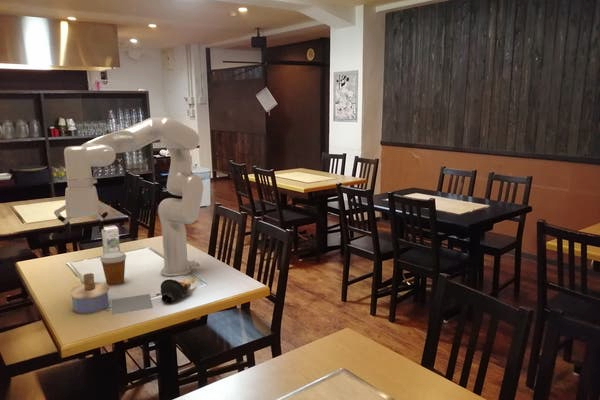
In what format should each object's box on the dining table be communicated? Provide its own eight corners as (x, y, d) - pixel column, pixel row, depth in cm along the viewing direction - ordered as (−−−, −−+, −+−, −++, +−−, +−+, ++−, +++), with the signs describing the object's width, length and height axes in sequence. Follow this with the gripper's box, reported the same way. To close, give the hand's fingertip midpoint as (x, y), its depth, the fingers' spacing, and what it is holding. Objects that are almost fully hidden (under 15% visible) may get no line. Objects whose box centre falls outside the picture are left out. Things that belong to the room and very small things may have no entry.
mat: (149, 295, 167) (149, 293, 167) (152, 309, 155) (152, 307, 155) (111, 301, 162) (111, 299, 162) (112, 315, 150) (111, 314, 150)
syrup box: (115, 254, 215) (113, 224, 212) (120, 257, 210) (118, 227, 208) (103, 257, 211) (100, 227, 208) (108, 260, 207) (105, 229, 204)
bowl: (108, 299, 163) (107, 283, 162) (108, 311, 153) (107, 295, 152) (75, 304, 159) (73, 288, 158) (72, 317, 149) (70, 300, 148)
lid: (109, 283, 163) (107, 267, 162) (109, 295, 152) (107, 278, 151) (71, 288, 158) (70, 271, 157) (69, 301, 147) (67, 283, 146)
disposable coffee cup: (109, 290, 172) (106, 260, 169) (98, 283, 178) (95, 254, 176) (132, 283, 179) (130, 254, 176) (121, 277, 185) (119, 249, 183)
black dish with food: (149, 293, 157) (168, 262, 172) (167, 316, 161) (184, 283, 177) (170, 287, 154) (188, 255, 169) (188, 309, 158) (203, 276, 174)
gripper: (108, 180, 157) (112, 227, 161) (52, 183, 151) (57, 233, 154) (108, 183, 151) (112, 232, 154) (49, 187, 144) (55, 238, 147)
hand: (85, 232), depth 154 cm, fingers open, 9 cm apart
